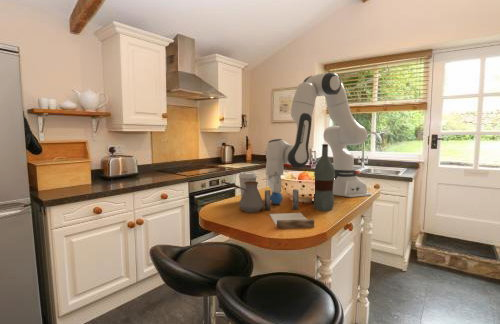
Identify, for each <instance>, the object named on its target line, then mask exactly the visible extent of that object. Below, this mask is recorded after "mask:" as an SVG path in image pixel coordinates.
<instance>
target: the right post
mask: <svg viewBox="0 0 500 324" xmlns="http://www.w3.org/2000/svg"><path fill="white" fill-rule="evenodd" d="M292 210H295V211H297V210H299V189H295V188H294V189H292Z"/></svg>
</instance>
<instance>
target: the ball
mask: <svg viewBox="0 0 500 324" xmlns="http://www.w3.org/2000/svg"><path fill="white" fill-rule="evenodd" d="M282 201H283V195H282V194H281V193H272V192H271V196H270V203H272V204H274V205H279V204H280V203H282Z"/></svg>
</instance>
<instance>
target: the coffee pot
mask: <svg viewBox="0 0 500 324" xmlns="http://www.w3.org/2000/svg"><path fill="white" fill-rule="evenodd" d="M224 184H225V185H224ZM244 184H245V185H246V188H242V187H240V185H237V184H234V183H230V182H227V181H224V182H223V183H222V184H221V186H222V187H226V186H230V187H231V188H236V189H240V190H241V189H242V190H244V193H243V195H242V197H241V196H240V200H239V203H238V206H239V208H240V209H241V210H242V211H243V212H245V213H258V212H260V210H262V209H263V208H264V207H265V202H264V201H263V199H262V196H261V194H260V192H259V189H258V184H259V182H258V181H256V182H253V181H249V182H245V183H244Z"/></svg>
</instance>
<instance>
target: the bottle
mask: <svg viewBox="0 0 500 324" xmlns="http://www.w3.org/2000/svg"><path fill="white" fill-rule="evenodd" d="M328 146H329V144H328V143H323V144H321V147H322V148H321V156H320V158H319V160H318V161H317V163H316V164H315V167H314V172H313V174H314V176H313V177H315V194H314V202H313V205H314V209H315V210H317V211H322V212H330V211H332V210H333V208H334V203H335V197H334V196H335V195H333V183H334V175H335V172H334V166H333V162H332V161H331V159H330V157H329V152H328V151H329V147H328Z"/></svg>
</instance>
